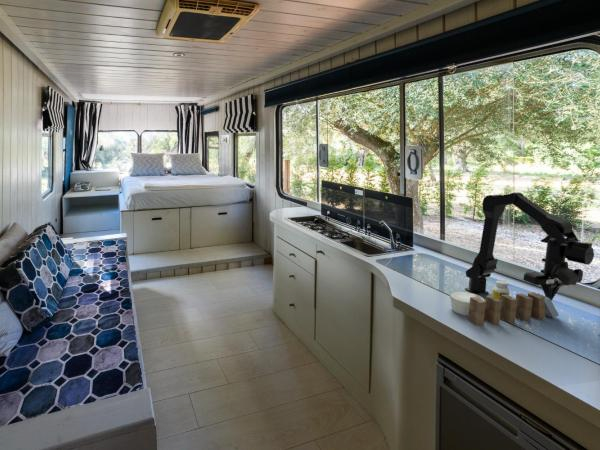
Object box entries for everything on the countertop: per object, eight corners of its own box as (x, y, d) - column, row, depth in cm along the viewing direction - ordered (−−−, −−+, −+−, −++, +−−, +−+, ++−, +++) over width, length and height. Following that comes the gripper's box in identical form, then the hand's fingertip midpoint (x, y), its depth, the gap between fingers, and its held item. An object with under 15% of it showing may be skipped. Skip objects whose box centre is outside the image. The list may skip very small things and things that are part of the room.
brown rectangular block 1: (513, 315, 143) (516, 293, 142) (519, 315, 144) (521, 293, 142) (524, 321, 138) (527, 299, 137) (530, 321, 139) (532, 298, 137)
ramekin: (488, 318, 141) (490, 303, 140) (455, 317, 141) (456, 302, 140) (475, 305, 152) (476, 292, 151) (445, 305, 152) (446, 291, 151)
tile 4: (483, 318, 140) (485, 296, 139) (489, 317, 141) (491, 295, 139) (493, 324, 136) (496, 301, 134) (499, 323, 136) (501, 300, 135)
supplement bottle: (498, 311, 147) (501, 284, 145) (487, 305, 152) (490, 280, 150) (510, 309, 148) (513, 283, 147) (499, 304, 154) (502, 279, 152)
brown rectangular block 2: (528, 314, 145) (527, 293, 143) (533, 313, 145) (533, 291, 143) (539, 320, 140) (538, 298, 138) (545, 318, 140) (544, 296, 138)
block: (542, 313, 146) (533, 297, 144) (547, 309, 146) (538, 293, 144) (554, 319, 141) (544, 302, 139) (559, 314, 141) (549, 298, 139)
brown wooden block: (498, 317, 142) (501, 294, 140) (504, 316, 142) (506, 294, 141) (509, 323, 137) (511, 300, 136) (514, 322, 138) (517, 299, 136)
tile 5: (467, 319, 139) (470, 297, 138) (473, 319, 140) (476, 296, 138) (477, 325, 134) (479, 302, 133) (483, 325, 135) (485, 302, 133)
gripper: (551, 265, 130) (545, 312, 133) (599, 262, 134) (592, 308, 137) (525, 256, 140) (519, 299, 143) (570, 253, 145) (563, 296, 148)
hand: (549, 301), depth 142 cm, fingers closed
